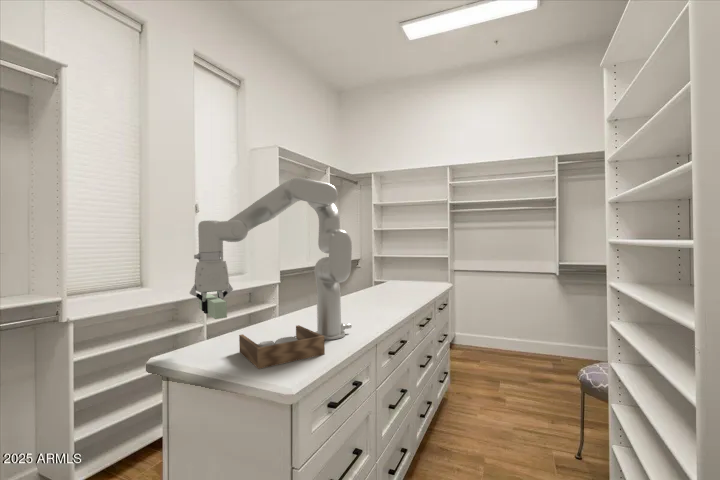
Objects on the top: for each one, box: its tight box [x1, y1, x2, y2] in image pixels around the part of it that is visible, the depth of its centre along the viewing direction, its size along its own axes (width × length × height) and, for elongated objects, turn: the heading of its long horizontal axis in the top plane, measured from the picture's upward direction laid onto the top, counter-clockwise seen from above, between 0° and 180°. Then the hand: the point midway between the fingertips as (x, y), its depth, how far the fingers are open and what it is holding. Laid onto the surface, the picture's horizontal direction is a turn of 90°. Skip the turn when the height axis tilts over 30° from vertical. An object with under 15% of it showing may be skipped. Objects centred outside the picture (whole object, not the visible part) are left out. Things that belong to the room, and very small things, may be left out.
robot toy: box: [256, 335, 298, 347], centre depth 120 cm, size 12×4×15 cm
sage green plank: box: [198, 293, 228, 320], centre depth 117 cm, size 23×4×5 cm, turn 36°
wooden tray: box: [238, 325, 326, 370], centre depth 119 cm, size 22×20×6 cm
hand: (212, 311), depth 117 cm, fingers closed on sage green plank, 3 cm apart
